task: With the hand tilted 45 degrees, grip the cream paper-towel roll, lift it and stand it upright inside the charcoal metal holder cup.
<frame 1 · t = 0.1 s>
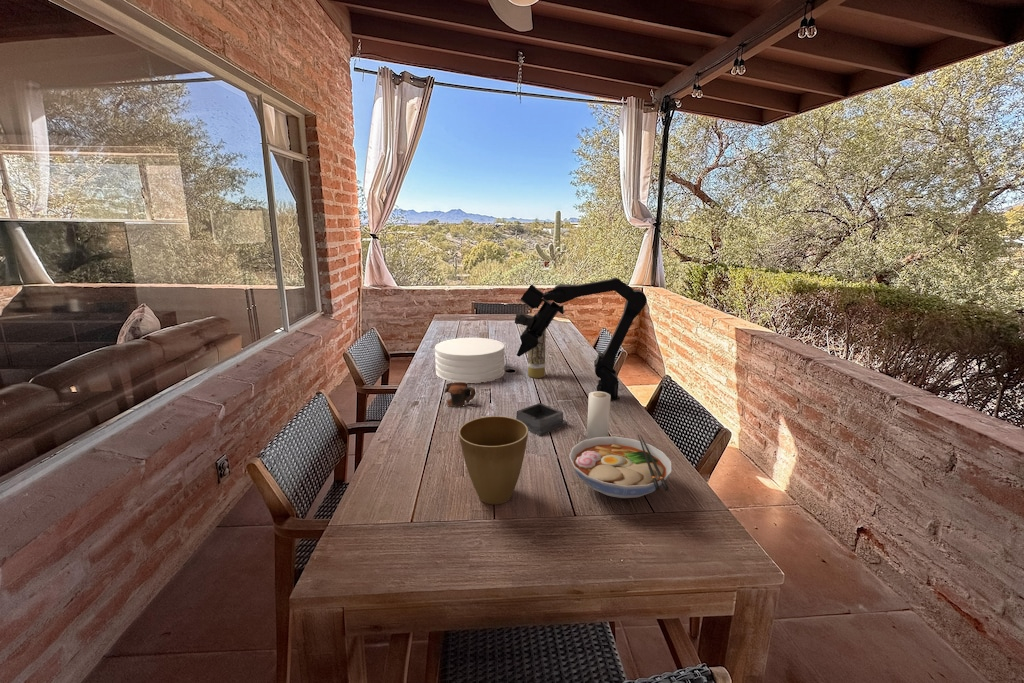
hand: (519, 352, 162), 15 cm above the table, tool tilted 35°, fingers open, 9 cm apart
plant pot: (494, 496, 102), on the table
holder: (539, 423, 139), on the table
ramen bowl: (617, 488, 105), on the table
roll: (597, 438, 130), on the table
brown cylindrical piece: (536, 376, 183), on the table
plate stack: (470, 373, 188), on the table
pottery mug: (460, 403, 156), on the table
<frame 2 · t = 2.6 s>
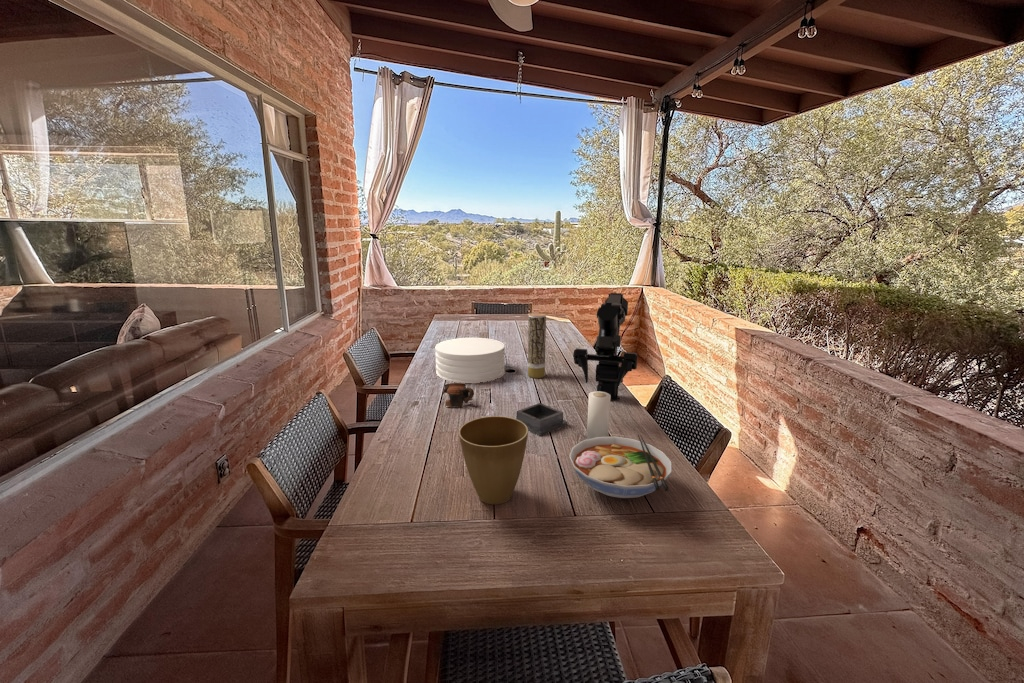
hand: (602, 384, 134), 14 cm above the table, tool tilted 45°, fingers open, 9 cm apart
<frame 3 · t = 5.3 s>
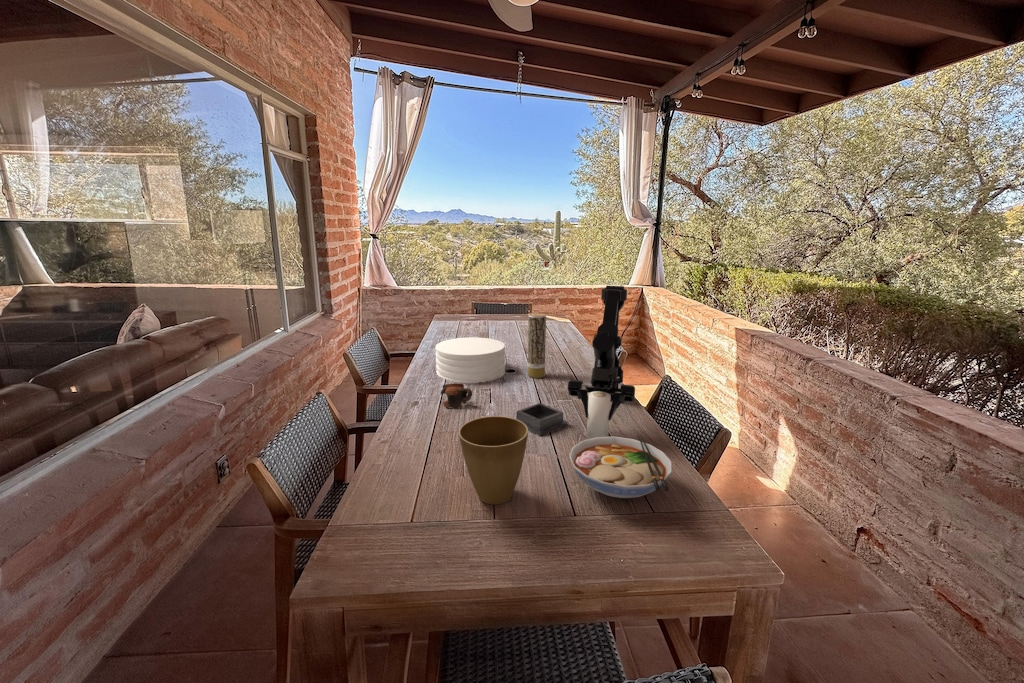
hand: (597, 418, 127), 7 cm above the table, tool tilted 45°, fingers closed on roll, 6 cm apart
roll: (597, 438, 130), on the table, touching gripper
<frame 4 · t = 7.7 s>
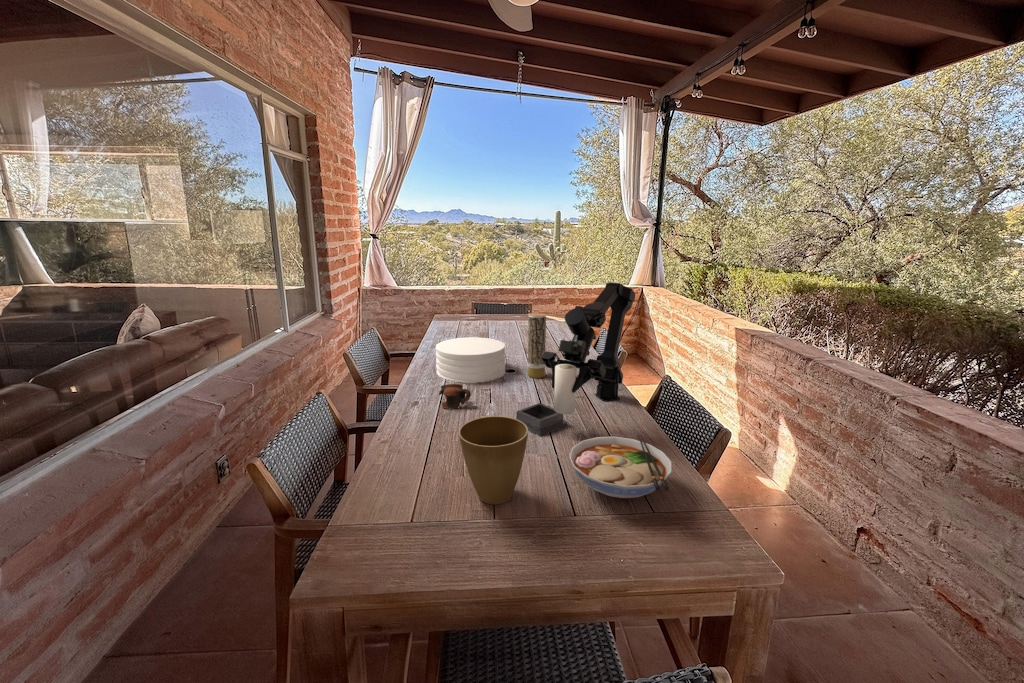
hand: (562, 389, 129), 13 cm above the table, tool tilted 45°, fingers closed on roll, 6 cm apart
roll: (564, 410, 132), point 7 cm above the table, touching gripper
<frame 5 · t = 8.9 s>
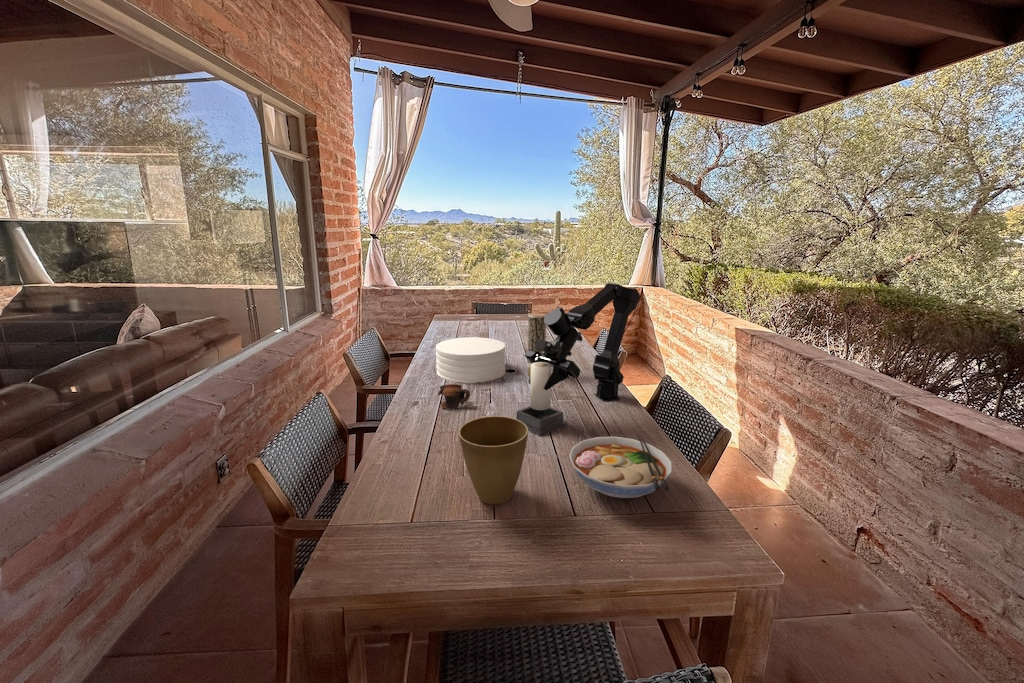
hand: (537, 386, 135), 12 cm above the table, tool tilted 45°, fingers closed on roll, 6 cm apart
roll: (540, 406, 138), point 6 cm above the table, touching gripper
when the fingers open (9 cm above the table, at t = 10.0 s): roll drops 1 cm, resting on holder.
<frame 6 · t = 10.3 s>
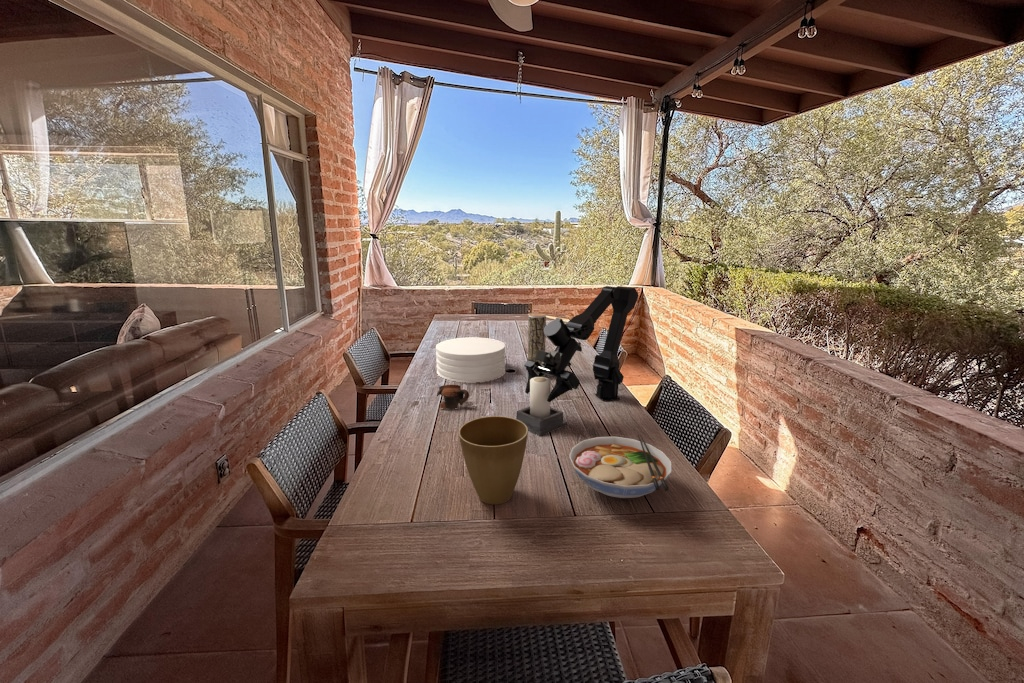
hand: (536, 397, 136), 9 cm above the table, tool tilted 45°, fingers open, 9 cm apart
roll: (540, 420, 139), point 1 cm above the table, touching holder
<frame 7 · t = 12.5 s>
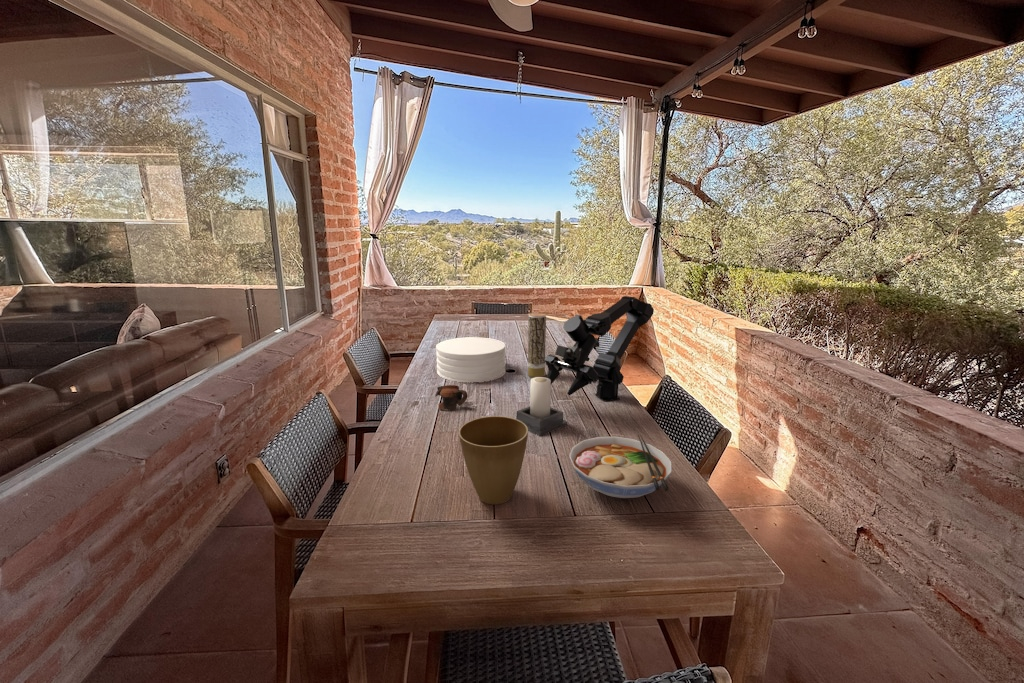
hand: (557, 390, 142), 9 cm above the table, tool tilted 45°, fingers open, 9 cm apart
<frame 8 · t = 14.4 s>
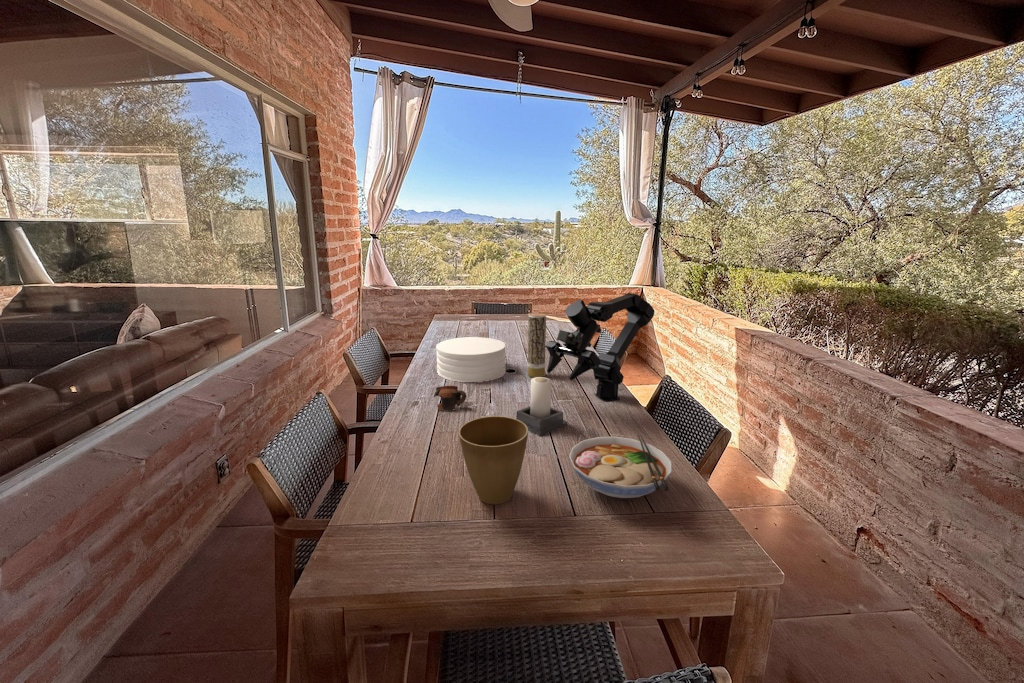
hand: (558, 375, 141), 14 cm above the table, tool tilted 45°, fingers open, 9 cm apart
at the end: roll 0.1 cm off-centre on the holder, point 1.0 cm above the holder's base; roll tilted 1°; the gripper is holding nothing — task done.
